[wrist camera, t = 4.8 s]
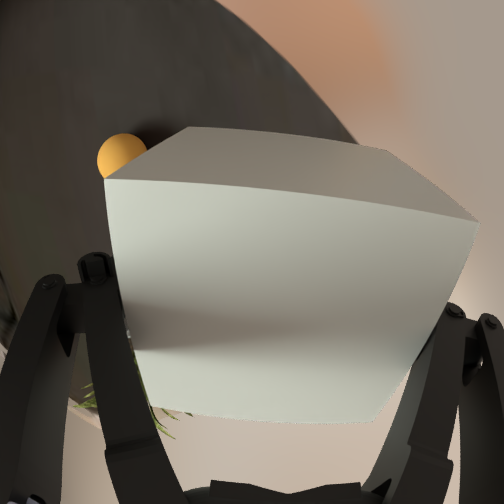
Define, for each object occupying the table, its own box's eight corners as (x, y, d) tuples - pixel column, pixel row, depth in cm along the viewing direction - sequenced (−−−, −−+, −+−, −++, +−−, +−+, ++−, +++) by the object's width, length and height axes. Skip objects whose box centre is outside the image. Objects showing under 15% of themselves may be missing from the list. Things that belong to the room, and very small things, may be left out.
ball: (110, 130, 28) (86, 140, 24) (155, 129, 28) (134, 138, 24) (113, 175, 30) (90, 191, 26) (155, 176, 30) (137, 193, 26)
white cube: (188, 126, 15) (103, 178, 7) (386, 150, 15) (480, 223, 7) (189, 290, 20) (150, 405, 12) (345, 305, 20) (372, 422, 12)
